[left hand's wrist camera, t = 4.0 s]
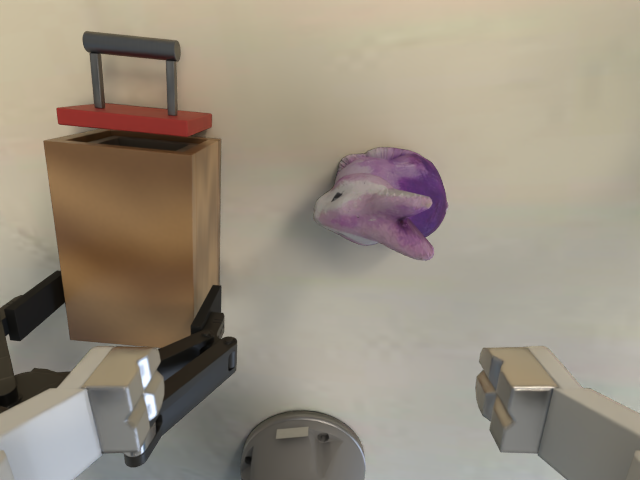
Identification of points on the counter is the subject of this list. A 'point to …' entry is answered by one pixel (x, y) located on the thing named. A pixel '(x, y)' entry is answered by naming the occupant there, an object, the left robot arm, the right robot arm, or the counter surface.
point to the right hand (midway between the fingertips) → (140, 291)
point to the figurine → (385, 201)
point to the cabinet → (135, 234)
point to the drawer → (135, 116)
